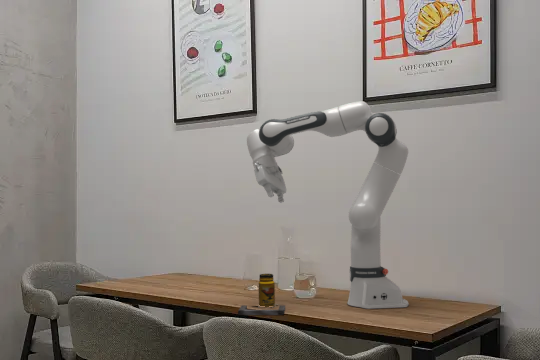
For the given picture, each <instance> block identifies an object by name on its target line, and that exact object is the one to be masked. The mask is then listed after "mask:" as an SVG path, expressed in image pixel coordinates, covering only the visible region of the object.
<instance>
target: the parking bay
mask: <svg viewBox="0 0 540 360" xmlns="http://www.w3.org/2000/svg"><path fill="white" fill-rule="evenodd" d="M284 311H286V305H283V304H282V305H281V304H279V305H278V309H248V305H243V304H242V305H240V307H239V309H238V310H237V316H284V315H285V312H284Z"/></svg>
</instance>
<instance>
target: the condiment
mask: <svg viewBox="0 0 540 360" xmlns="http://www.w3.org/2000/svg"><path fill="white" fill-rule="evenodd" d="M275 289H276V287H275V280H274V274H273V273H260V274H259V280H258V304H259V305H260V306H265V307H269V306H275V305H276V297H275V296H276V290H275ZM275 307H276V306H275Z"/></svg>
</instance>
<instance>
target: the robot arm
mask: <svg viewBox="0 0 540 360" xmlns="http://www.w3.org/2000/svg"><path fill="white" fill-rule="evenodd" d="M308 131H309V132H310V131H312V132H318V133H319V134H323V135H325V136H327V137H331V138H335V137H340V136H344V135H347V134H350V133H353V132H357V131H364V132H365V134H366V136H367V138H368V139H369V140H370V141H371V142H372V143H374V144H375V145H376V146H378V151H377V154H376V157H375V159H374V161H373V163H372V165H371V167H370V169H369V172H367V175H366V178H365V180H364V182H363V184H362V186H361V187H360V189H359V191H358V192H357V195H356V197H355V199H354V200H353V203H352V204H351V207H350V209H349V212H348V220H349V222H350V224H351V231H350V232H351V233H350V235H351V236H350V237H351V238H350V266H349V281H350V287H349V294H348V300H347V305H349V306H351V307H357V308H362V309H370V310H372V309H391V308H392V309H394V308H395V309H397V308H407V307H409V301H408V300H406V299H405V298H403V293H402V290H401V288H400V286H399V285H397V284H396V283H395V282H393V280H391V279H390V278H388V277H387V275H388V274H389V270H388V269H387V268H386V267H383V266H382V265H381V264H382V263H381V259H382V258H381V216H382V214H383V212H384V210H385V208H386V206H387V203H388V202H389V200H390V198H391V196H392V193H393V192H394V189H395V188H396V186H397V183H398V181H399V179H400V177H401V175H402V173H403V170H404V169H405V165H406V162H407V159H408V156H409V148H408V147H407V145H406V144H405V143H403V142H402V141H400V140H399V139H397V133H398V132H397V126H396V122H395V121H394V119H393V118H392V117H391V116H390V115H389V114H386V113H383V112H376V113H374V112H373V111H372V108H371V107H370V106H369V104H368V103H367V102H365V101H363V100H359V101H353V102H349V103H344V104H341V105H339V106H338V105H337V106H335V107H332V108H329V109H324V110H319V111H318V110H317V111H312V112H308V113H303V114H300V115H295V116H293V117H292V116H291V117H288V118H284V119H275V118H273V119H272V118H271V119H268V120H266V121H264V122H262V125H260V128H256V129H254V130H252V131H250V133H248V135H247V137H246V145H247V149H248V153H249V156H250V157H251V159H252V165H253V168H254V169H253V172H254V176H255V179H256V181H257V184H258V185H259V186H261V187H263V188H264V191H265V192H266V193H267V196H268V197H269V198H273V197H274V196H275V195H276V196H277V201H278V202H279V203H280V204H282V203H284V201H285V199H284V194H287V187H286V184H285V179H284V177H283V170H282V168H280V166H279V165H278V162H277V161H276V158H277V157H281V156H283V155H287V154H289V153H290V152H291V151H292V149H294V145H295V140H294V137H293V136H292V135H296V134H300V133H304V132H308Z"/></svg>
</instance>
